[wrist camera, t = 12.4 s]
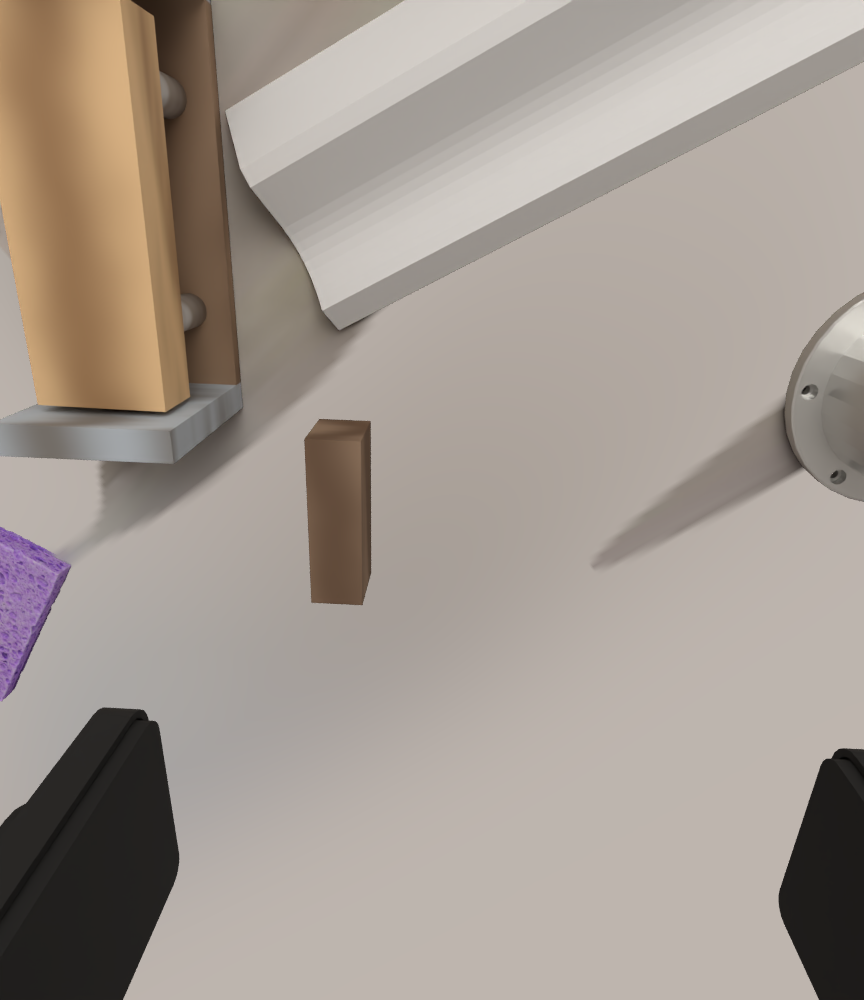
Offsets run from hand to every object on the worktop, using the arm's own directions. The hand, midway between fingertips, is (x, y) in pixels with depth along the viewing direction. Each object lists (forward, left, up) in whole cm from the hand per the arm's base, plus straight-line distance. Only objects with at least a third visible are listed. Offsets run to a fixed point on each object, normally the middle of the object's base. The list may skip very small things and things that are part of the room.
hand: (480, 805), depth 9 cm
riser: (+7, +8, -30) cm, 32 cm away
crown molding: (-4, -15, -31) cm, 35 cm away
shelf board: (+17, -7, -25) cm, 31 cm away
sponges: (+31, +17, -31) cm, 47 cm away
